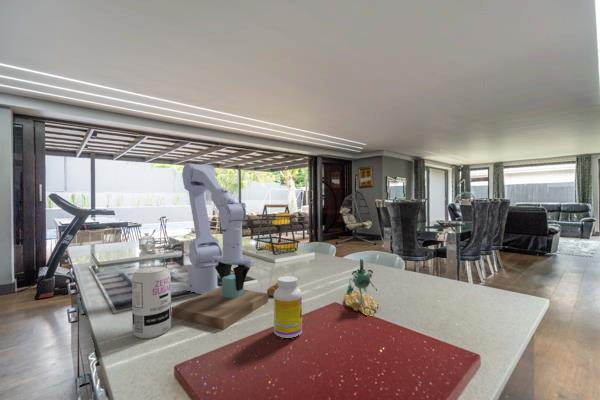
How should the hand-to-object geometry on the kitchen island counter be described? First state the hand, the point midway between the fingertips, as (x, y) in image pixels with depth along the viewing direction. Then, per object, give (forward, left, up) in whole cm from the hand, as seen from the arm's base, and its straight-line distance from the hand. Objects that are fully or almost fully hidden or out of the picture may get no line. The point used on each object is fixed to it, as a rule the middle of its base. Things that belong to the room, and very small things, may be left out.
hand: (232, 288), depth 86 cm
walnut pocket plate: (0, -5, -4) cm, 6 cm away
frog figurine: (+35, +15, -5) cm, 39 cm away
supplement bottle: (+24, -10, -5) cm, 26 cm away
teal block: (0, 0, -3) cm, 3 cm away
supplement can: (-6, -23, -5) cm, 24 cm away
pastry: (+9, +14, -5) cm, 18 cm away
